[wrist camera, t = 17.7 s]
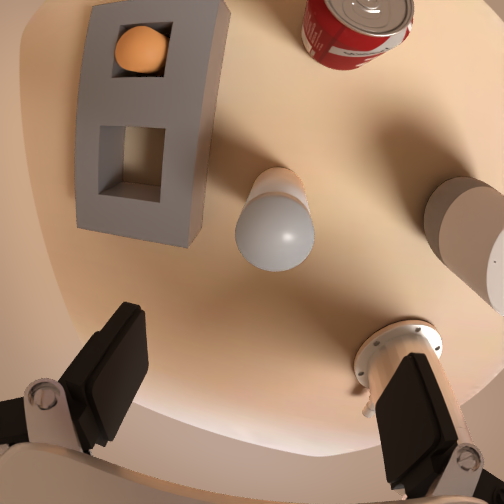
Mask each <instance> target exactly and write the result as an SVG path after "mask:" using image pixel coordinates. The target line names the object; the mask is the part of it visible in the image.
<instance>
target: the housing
mask: <svg viewBox="0 0 504 504" xmlns="http://www.w3.org/2000/svg"><path fill="white" fill-rule="evenodd" d="M230 16H231V12H230V11H229V9H228V7H227V5H226V4H225V2H224V0H128V1H120V2H114V3H108V4H102V5H97V6H93V8H92V12H91V16H90V21H89V26H88V31H87V36H86V42H85V47H84V53H83V60H82V67H81V74H80V83H79V92H78V103H77V116H76V134H75V199H76V218H77V228H81V229H86V230H91V231H97V232H102V233H107V234H113V235H118V236H123V237H129V238H134V239H140V240H145V241H150V242H156V243H161V244H167V245H172V246H178V247H183V248H189V246H190V245H191V243H192V242H193V240H194V239H195V237H196V236H197V234H198V233H199V231H200V230H201V228H202V218H203V208H204V198H205V189H206V179H207V170H208V162H209V153H210V145H211V137H212V130H213V122H214V115H215V108H216V101H217V94H218V87H219V80H220V74H221V68H222V61H223V55H224V49H225V44H226V38H227V32H228V27H229V21H230ZM137 26H147V27H150V28H152V29H153V30H155V31H157V32H159V33H161V34H163V35H165V34H171V36H170V42H169V48H168V54H167V60H166V66H165V73H164V77H137V72H135V71H130V70H126V69H124V68H122V67H121V66H120V65H119V64H118V62H117V60H116V57H115V49H116V45H117V43H118V41H119V39H120V38H121V36H122V35H123V34H124V33H125V32H127V31H128V30H130V29H131V28H134V27H137ZM125 126H131V127H150V128H164V129H166V131H165V141H164V152H163V164H162V179H161V186H154V185H146V184H138V183H130V182H122V180H123V154H124V138H125Z"/></svg>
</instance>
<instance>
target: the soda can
mask: <svg viewBox="0 0 504 504" xmlns="http://www.w3.org/2000/svg"><path fill="white" fill-rule="evenodd" d="M413 15H414V2H413V0H307V5H306V10H305V15H304V20H303V24H302V30H301V36H302V41H303V44H304V46H305V48H306V50H307V52H308V53H309V54H310V55H311V57H312V58H313V59H315V60H316V61H317V62H319V63H320V64H322V65H324V66H326V67H328V68H331V69H335V70H352V69H356V68H358V67H360V66H362V65H364V64H366V63H367V62H369V61H371V60H373V59H374V58H376V57H378V56H380V55H382V54H383V53H385V52H387V51H389V50H391V49H393V48H394V47H396V46H398V45H399V44H401V43H402V42H403V41H404V40H405V39H406V38H407V36H408V35H409V33H410V31H411V28H412V24H413Z"/></svg>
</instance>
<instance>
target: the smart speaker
mask: <svg viewBox="0 0 504 504" xmlns="http://www.w3.org/2000/svg"><path fill="white" fill-rule="evenodd" d="M424 231H425V235H426V238H427V241H428V243H429V245H430V247H431V249H432V250H433V252H434V253H435V255H436V256H437V257H438V258H439V259H440V260H441V262H442V263H443V264H444V265H446V266H447V267H448V268H449V269H450V270H451V271H452V272H453V273H454V274H456V275H457V276H458V277H459V278H460V279H461V280H462V281H464V282H465V283H466V284H467V285H468V286H469V287H470V288H471V289H472V290H474V291H475V292H476V293H477V294H478V295H479V296H480V297H481V298H482V299H483V300H484V301H486V302H487V303H488V304H489V305H490V306H491V307H492V308H493V309H494V310H495V311H496V312H497V313H499V314H500V315H502V316H504V196H503V195H502V194H501V193H500V192H498V191H497V190H496V189H494V188H493V187H491V186H490V185H488V184H486V183H484V182H482V181H480V180H477V179H474V178H470V177H457V178H453V179H450V180H448V181H446V182H444V183H442V184H441V185H440V186H439V187H438V188H437V189H436V190H435V191H434V192H433V193H432V195H431V197H430V198H429V200H428V203H427V205H426V208H425V213H424Z"/></svg>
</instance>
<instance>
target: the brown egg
mask: <svg viewBox="0 0 504 504" xmlns="http://www.w3.org/2000/svg"><path fill="white" fill-rule="evenodd" d="M169 42H170V38H168V37H166V36H164V35H163V34H161V33H159V32H157V31H155V30H153V29H152V28H150V27H147V26H137V27H134V28H131V29H130V30H128V31H127V32H125V33H124V34H123V35H122V36H121V38H120V39H119V41H118V43H117V45H116V49H115V57H116V60H117V62H118V64H119V65H120V66H121V67H122V68H124V69H126V70H130V71H135V72H140V73H145V74H149V75H154V76H159V75H163V74H164V73H165V66H166V60H167V54H168V48H169Z"/></svg>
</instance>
